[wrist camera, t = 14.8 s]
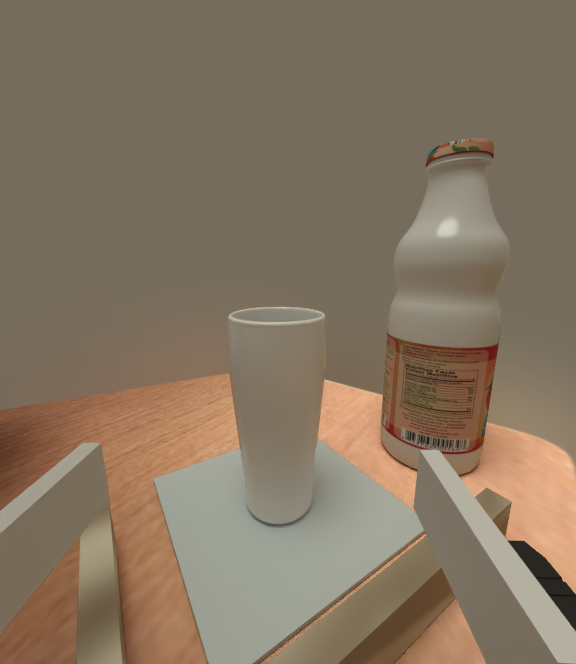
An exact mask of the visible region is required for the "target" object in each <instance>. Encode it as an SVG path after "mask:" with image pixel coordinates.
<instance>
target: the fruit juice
mask: <svg viewBox="0 0 576 664" xmlns="http://www.w3.org/2000/svg"><path fill="white" fill-rule="evenodd" d="M493 155H494V146H493V143H492V142H491V141H490V140H487V139H465V140H457V141H453V142H449V143H446V144H443V145H440V146H438V147H436V148H434V149H432V150H431V151H430V152H429V154H428V158H427V163H426V169H427V171H426V173H427V175H428V176H429V183H428V188H427V191H426V194H425V197H424V200H423V203H422V205H421V208H420V210H419V213H418V215H417V217H416V219H415V221H414V223H413V225H412V226H411V228H410V229H409V231H408V232H407V233H406V234H405V235H404V236H403V238H402V239H401V241H400V242H399V244H398V246H397V249H396V252H395V259H394V270H395V275H396V280H397V293H396V296H395V298H394V299H393V301H392V304H391V307H390V312H389V319H388V328H387V347H386V360H385V374H384V388H383V402H382V416H381V439H382V443H383V445H384V447H385V449H386V450H387V451H388V452H389V453H390V454H391V455H392V456H393V457H394V458H396V459H397V460H398V461H400V462H402V463H403V464H405V465H407V466H409V467H411V468H414V469H417V470H418V461H419V452H420V450H439V451H440V452H441V453H442V455H443V456H444V457H445V458H446V460H447V461H448V462H449V464H450V465H451V466H452V468H453V469H454V470H455V472H456V473H457V474H458V475H461V474H465V473H467V472H470V471H471V470H473V469H474V468H475V467H476V466H477V464H478V462H479V460H480V457H481V454H482V448H483V442H484V435H485V429H486V422H487V416H488V409H489V403H490V396H491V390H492V383H493V377H494V370H495V363H496V357H497V350H498V345H499V339H500V332H501V319H502V313H501V307H500V304H499V302H498V296H497V293H498V288H499V285H500V283H501V281H502V279H503V277H504V275H505V273H506V270H507V267H508V264H509V258H510V245H509V241H508V239H507V237H506V235H505V234H504V232H503V231H502V229H501V227H500V226H499V224H498V222H497V220H496V218H495V215H494V212H493V208H492V204H491V200H490V196H489V191H488V186H487V180H486V172H487V169H488V168H489V167H490V166H491V164H492V162H491V161H492V158H493Z"/></svg>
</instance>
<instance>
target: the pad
mask: <svg viewBox="0 0 576 664" xmlns="http://www.w3.org/2000/svg"><path fill="white" fill-rule="evenodd" d="M154 484H155V487H156V491H157V494H158V497H159V501H160V504H161V508H162V511H163V514H164V518H165V521H166V524H167V528H168V531H169V535H170V538H171V541H172V545H173V548H174V551H175V555H176V558H177V562H178V565H179V568H180V572H181V575H182V579H183V582H184V585H185V589H186V592H187V595H188V599H189V602H190V606H191V609H192V612H193V616H194V619H195V622H196V626H197V629H198V633H199V636H200V639H201V643H202V646H203V649H204V653H205V656H206V660H207V663H208V664H258V663H260V662H261V661H262V660H264V659H265V658H266V657H267V656H269V655H270V654H271V653H272V652H274V651H275V650H276V649H278V648H279V647H280V646H281V645H283V644H284V643H285V642H286V641H288V640H289V639H290V638H292V637H293V636H294V635H295V634H297V633H298V632H299V631H300V630H302V629H303V628H304V627H306V626H307V625H308V624H309V623H311V622H312V621H313V620H314V619H316V618H317V617H318V616H320V615H321V614H322V613H323V612H325V611H326V610H327V609H328V608H330V607H331V606H332V605H334V604H335V603H336V602H337V601H339V600H340V599H341V598H342V597H344V596H345V595H346V594H348V593H349V592H350V591H351V590H353V589H354V588H355V587H356V586H358V585H359V584H360V583H362V582H363V581H364V580H365V579H367V578H368V577H369V576H370V575H372V574H373V573H374V572H376V571H377V570H378V569H379V568H381V567H382V566H383V565H384V564H386V563H387V562H388V561H390V560H391V559H392V558H393V557H395V556H396V555H397V554H398V553H400V552H401V551H402V550H404V549H405V548H406V547H407V546H409V545H410V544H411V543H412V542H414V541H415V540H416V539H418V538H419V537H420V536H421V535H423V534H424V533H425V531H424V529H423V527H422V525H421V523H420V520H419V518H418V516H417V514H416V512H415V511H413V510H412V509H411V508H409V507H408V506H407V505H405V504H404V503H403V502H401V501H400V500H399V499H397V498H396V497H395V496H393V495H392V494H391V493H389V492H388V491H387V490H386V489H384V488H383V487H382V486H380V485H379V484H378V483H376V482H375V481H374V480H372V479H371V478H370V477H368V476H367V475H366V474H364V473H363V472H362V471H360V470H359V469H358V468H356V467H355V466H354V465H353V464H351V463H350V462H349V461H347V460H346V459H345V458H343V457H342V456H341V455H339V454H338V453H337V452H335V451H334V450H333V449H331V448H330V447H329V446H327V445H326V444H325V443H323V442H322V441H321V440H320V439H317V448H316V458H315V467H314V477H313V498H312V502H311V505H310V507H309V509H308V510H307V512H306V513H305V514H304V515H303V516H301V517H300V518H299V519H297V520H295V521H293V522H290V523H286V524H270V523H266V522H264V521H261V520H259V519H258V518H256V517H255V516H254V515H253V514H252V513H251V512H250V510H249V509H248V507H247V504H246V501H245V489H244V476H243V468H242V460H241V453H240V449H237V450H234V451H231V452H229V453H226V454H223V455H220V456H217V457H214V458H211V459H209V460H206V461H203V462H200V463H197V464H194V465H192V466H189V467H186V468H183V469H180V470H177V471H174V472H172V473H169V474H166V475H163V476H160V477H157V478H154Z"/></svg>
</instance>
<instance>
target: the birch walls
mask: <svg viewBox="0 0 576 664" xmlns="http://www.w3.org/2000/svg"><path fill="white" fill-rule="evenodd" d="M475 498H476V500H477V501H478V502H479V504H480V505H481V506H482V508H483V509H484V510H485V512H486V513H487V514H488V516H489V517H490V518H491V520H492V521H493V522H494V524H495V525H496V526H497V528H498V529H499V530H500V532H501V533H502V534H503V536H504V537H505V535H506V530H507V525H508V519H509V514H510V509H511V503H512V502H511V501H509V500H508V499H506V498H504V497H502V496H500V495H499V494H497V493H495V492H493V491H492V490H490V489H488V488H486V489H485V490H483V491H482V492H481V493H480V494H478V495H477V496H476V497H475ZM454 599H455V595H454V593H453V591H452V589H451V587H450V584H449V582H448V580H447V578H446V576H445V574H444V572H443V569H442V567H441V565H440V563H439V561H438V559H437V557H436V555H435V552H434V550H433V548H432V546H431V544H430V542H429V540H428V537H427V536H426V537H425V538H423V539H422V540H421V541H420V542H418V543H417V544H416V545H415V546H413V547H412V548H411V549H410V550H408V551H407V552H406V553H405V554H403V555H402V556H401V557H399V558H398V559H397V560H396V561H394V562H393V563H392V564H391V565H389V566H388V567H387V568H386V569H384V570H383V571H382V572H381V573H379V574H378V575H377V576H376V577H374V578H373V579H372V580H371V581H369V582H368V583H367V584H366V585H364V586H363V587H362V588H361V589H359V590H358V591H357V592H356V593H354V594H353V595H352V596H351V597H349V598H348V599H347V600H346V601H344V602H343V603H342V604H341V605H339V606H338V607H337V608H336V609H334V610H333V611H332V612H331V613H329V614H328V615H327V616H326V617H324V618H323V619H322V620H321V621H319V622H318V623H317V624H316V625H314V626H313V627H312V628H311V629H309V630H308V631H307V632H306V633H304V634H303V635H302V636H301V637H299V638H298V639H297V640H296V641H294V642H293V643H292V644H291V645H289V646H288V647H287V648H286V649H284V650H283V651H282V652H281V653H279V654H278V655H277V656H276V657H274V658H273V659H272V660H271V661H269V662H268V663H267V664H394V663H395V662H396V661H397V660H398V659H399V657H400V656H401V655H402V654H403V653H404V652H405V651H406V650H407V649H408V648H409V647H410V646H411V645H412V644H413V642H414V641H415V640H416V639H417V638H418V637H419V636H420V635H421V634H422V633H423V632H424V631H425V630H426V629H427V627H428V626H429V625H430V624H431V623H432V622H433V621H434V620H435V619H436V618H437V617H438V616H439V615H440V614H441V612H442V611H443V610H444V609H445V608H446V607H447V606H448V605H449V604H450V603H451V602H452V601H453V600H454ZM76 664H127V662H126V651H125V640H124V629H123V618H122V608H121V597H120V586H119V575H118V564H117V554H116V543H115V536H114V530H113V523H112V517H111V511H110V504H109V501H108V502H107V503H106V504H105V506H104V507H103V508H102V509H101V511H100V512H99V513H98V514H97V516H96V517H95V518H94V519H93V521H92V522H91V523H90V524H89V525H88V527H87V528H86V529H85V530H84V532H83V533H82V534H81V535H80V564H79V592H78V621H77V650H76Z"/></svg>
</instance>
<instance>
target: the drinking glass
mask: <svg viewBox="0 0 576 664" xmlns="http://www.w3.org/2000/svg"><path fill="white" fill-rule="evenodd" d="M228 358H229V371H230V381H231V389H232V396H233V403H234V410H235V417H236V424H237V431H238V438H239V445H240V453H241V460H242V468H243V476H244V489H245V501H246V504H247V507H248V509H249V510H250V512H251V513H252V514H253V515H254V516H255V517H256V518H258V519H259V520H261V521H264V522H266V523H270V524H286V523H290V522H293V521H295V520H297V519H299V518H300V517H301V516H303V515H304V514H305V513H306V512H307V510H308V509H309V507H310V505H311V502H312V498H313V477H314V467H315V458H316V448H317V439H318V431H319V422H320V414H321V405H322V397H323V388H324V378H325V362H326V325H325V314H323V313H322V312H320V311H317V310H313V309H305V308H294V307H263V308H253V309H245V310H239V311H235V312H233V313H231V314H230V315H229V316H228Z"/></svg>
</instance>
